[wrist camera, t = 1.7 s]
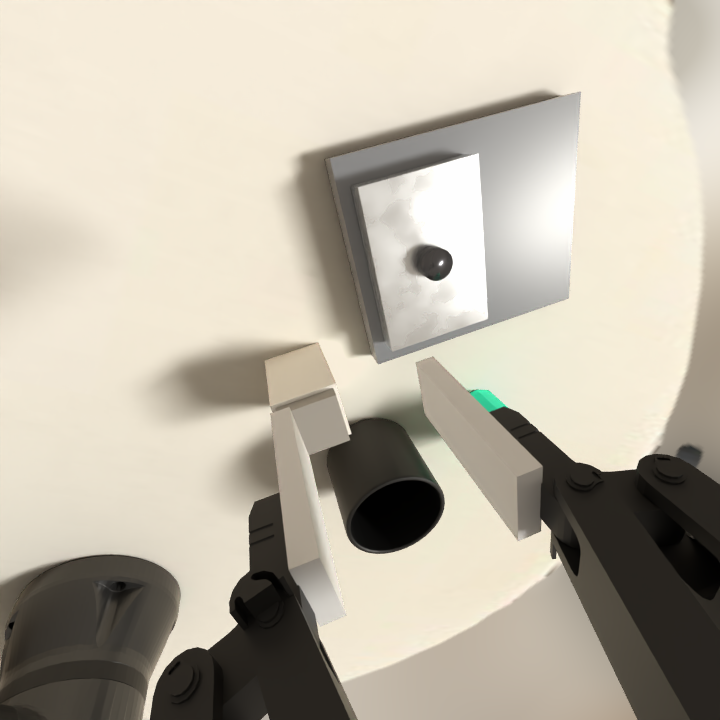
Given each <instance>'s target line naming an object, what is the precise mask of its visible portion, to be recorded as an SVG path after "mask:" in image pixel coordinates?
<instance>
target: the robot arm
mask: <svg viewBox="0 0 720 720" xmlns="http://www.w3.org/2000/svg"><path fill="white" fill-rule="evenodd" d="M416 367H417V372H418V378H419V384H420V389H421V395H422V401H423V407H424V412H425V415H426V417H427V418H428V419H429V421H430V422H431V423H432V425H433V426H434V427H435V429H436V430H437V432H438V433H439V434H440V436H441V437H442V438H443V440H444V441H445V442H446V444H447V445H448V446H449V448H450V449H451V451H452V452H453V453H454V455H455V456H456V457H457V459H458V460H459V461H460V463H461V464H462V466H463V467H464V468H465V470H466V471H467V472H468V474H469V475H470V476H471V478H472V479H473V480H474V482H475V483H476V485H477V486H478V487H479V489H480V490H481V491H482V493H483V494H484V495H485V497H486V498H487V499H488V501H489V502H490V504H491V505H492V506H493V508H494V509H495V510H496V512H497V513H498V514H499V516H500V517H501V519H502V520H503V521H504V523H505V524H506V525H507V527H508V528H509V529H510V531H511V532H512V533H513V535H514V536H515V538H516V539H517V540H518V541H520V540H522V539H524V538H527V537H529V536H531V535H533V534H536V533H538V532H540V531H541V519H542V520H543V521H544V522H545V524H546V525H547V526H548V527H549V528H550V530H551V545H550V553H551V557H552V559H556V551H557V553H558V555H559V557H560V559H561V561H562V563H563V565H564V567H565V570H566V572H567V574H568V576H569V578H570V580H571V582H572V584H573V586H574V588H575V590H576V592H577V594H578V596H579V599H580V600H581V603H582V605H583V607H584V609H585V611H586V613H587V615H588V617H589V619H590V622H591V624H592V626H593V628H594V630H595V632H596V634H597V636H598V638H599V640H600V642H601V644H602V646H603V648H604V651H605V653H606V655H607V657H608V659H609V661H610V663H611V665H612V667H613V669H614V671H615V674H616V676H617V678H618V680H619V682H620V684H621V686H622V688H623V690H624V692H625V694H626V696H627V699H628V701H629V703H630V705H631V707H632V709H633V711H634V713H635V715H636V717H637V719H638V720H720V484H718V483H716V482H715V481H714V480H712V479H711V478H709V477H708V476H707V475H705V474H704V473H702V472H701V471H699V470H698V469H697V468H695V467H694V466H692V465H691V464H689V463H687V462H685V461H683V460H682V459H680V458H676V457H673V456H670V455H662V454H653V455H648V456H645V457H643V458H642V459H640V460H639V463H638V466H637V469H636V470H625V471H614V472H601V471H600V470H599V469H597V468H595V467H593V466H591V465H587V464H583V463H576V462H574V461H573V460H571V459H570V458H569V457H568V456H567V455H566V454H565V453H564V452H563V451H561V450H560V449H559V448H558V447H557V446H556V445H555V444H554V443H552V442H551V441H550V440H549V439H548V438H547V437H546V436H545V435H543V434H542V433H541V432H539V431H538V429H537V428H536V427H535V426H533V425H532V424H530V422H529V421H528V420H527V419H526V418H524V417H523V416H522V415H521V414H520V413H519V412H516V411H514V410H512V409H509V408H507V407H505V406H504V407H501V408H499V409H496V410H493V411H491V412H488V411H487V410H486V409H485V408H484V407H483V406H482V405H481V404H480V403H479V402H478V401H477V400H476V399H475V398H474V397H473V396H472V395H471V394H470V393H469V392H468V391H467V390H466V389H465V388H464V387H463V386H462V385H461V384H460V383H459V382H458V381H457V380H456V379H455V378H454V377H453V376H452V375H451V374H450V373H449V372H448V371H447V370H446V369H445V368H444V367H443V366H442V365H441V364H440V363H439V362H438V361H437V360H436V359H435V358H434V357H430V358H427V359H424V360H421V361H419V362H416ZM270 415H271V424H272V432H273V441H274V449H275V458H276V467H277V475H278V484H279V493H277V494H274V495H272V496H269V497H266V498H264V499H261V500H258V501H256V502H254V505H253V508H252V510H251V513H250V515H249V533H250V535H249V545H250V547H249V555H250V571H249V572H248V573H247V574H246V575H245V576H243V577H242V578H241V579H240V580H239V582H238V583H237V585H236V586H235V588H234V589H233V592H232V595H231V598H230V601H229V606H230V614H231V615H232V616H233V618H234V619H235V620H236V622H237V623H238V624H237V626H236V627H235V628H234V629H233V630H232V631H231V632H230V633H229V634H227V635H226V636H225V637H224V638H222V639H221V640H220V641H219V642H217V643H216V644H215V645H214V646H212V647H211V648H210V649H209V650H205V649H202V648H198V647H197V648H192V649H188V650H186V651H184V652H183V653H181V654H180V655H178V656H177V657H175V658H174V659H173V661H172V662H171V663H170V664H169V665H168V666H167V667H166V668H165V670H164V672H163V673H162V675H161V677H160V679H159V680H158V682H157V685H156V689H155V692H154V696H153V701H152V708H151V715H150V720H261V719H262V718H263V717H264V716H265V715H266V714H267V713H268V715H269V719H270V720H358V719H357V717H356V715H355V713H354V711H353V709H352V707H351V704H350V702H349V700H348V698H347V695H346V693H345V691H344V689H343V687H342V685H341V683H340V680H339V678H338V676H337V674H336V672H335V670H334V667H333V665H332V663H331V661H330V659H329V657H328V654H327V652H326V650H325V648H324V646H323V644H322V642H321V640H320V639H319V635H318V629H317V623H316V620H317V622H318V624H319V626H323V625H325V624H327V623H330V622H332V621H334V620H337V619H339V618H341V617H344V616H346V611H345V607H344V603H343V598H342V594H341V590H340V585H339V581H338V577H337V573H336V568H335V564H334V560H333V556H332V551H331V547H330V543H329V538H328V534H327V530H326V526H325V521H324V517H323V513H322V508H321V504H320V500H319V496H318V491H317V487H316V483H315V479H314V474H313V470H312V466H311V461H310V457H309V455H308V452H307V450H306V447H305V445H304V442H303V440H302V437H301V435H300V432H299V430H298V427H297V425H296V422H295V420H294V417H293V415H292V412H291V410H290V407H287V408H284V409H282V410H279V411H276V412H273V413H270ZM180 596H181V593H180V588H179V585H178V583H177V581H176V579H175V578H174V577H173V576H172V575H171V574H170V573H169V572H168V571H166V570H165V569H164V568H162V567H160V566H158V565H156V564H154V563H151V562H149V561H145V560H142V559H138V558H132V557H125V556H98V557H90V558H84V559H79V560H75V561H71V562H68V563H65V564H62V565H59V566H57V567H54V568H52V569H50V570H48V571H46V572H45V573H43V574H41V575H40V576H38V577H37V578H35V579H34V580H33V581H32V582H31V583H29V584H28V585H27V586H26V588H25V589H24V590H23V591H22V593H21V595H20V596H19V598H18V600H17V602H16V604H15V606H14V608H13V610H12V612H11V614H10V616H9V619H8V621H7V625H6V630H5V645H4V649H3V655H2V661H1V668H0V720H142V717H143V711H144V705H145V700H146V694H147V689H148V684H149V680H150V677H151V675H152V673H153V671H154V669H155V666H156V664H157V662H158V660H159V658H160V656H161V653H162V651H163V649H164V647H165V644H166V642H167V640H168V637H169V635H170V633H171V632H172V630H173V628H174V626H175V624H176V621H177V617H178V611H179V604H180Z"/></svg>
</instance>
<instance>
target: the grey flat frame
mask: <svg viewBox="0 0 720 720" xmlns="http://www.w3.org/2000/svg"><path fill="white" fill-rule="evenodd" d="M580 97H581V92H577V93H572V94H567V95H563V96H559V97H555V98H551V99H547V100H544V101H540V102H536V103H533V104H529V105H525V106H521V107H518V108H514V109H510V110H506V111H503V112H499V113H495V114H491V115H488V116H484V117H480V118H476V119H473V120H469V121H465V122H461V123H458V124H454V125H450V126H446V127H443V128H439V129H435V130H432V131H428V132H424V133H420V134H417V135H413V136H409V137H405V138H402V139H398V140H394V141H390V142H387V143H383V144H379V145H375V146H372V147H368V148H364V149H360V150H357V151H353V152H349V153H345V154H342V155H338V156H334V157H331V158H327V159H325V163H326V167H327V171H328V176H329V180H330V184H331V188H332V192H333V196H334V200H335V205H336V209H337V213H338V217H339V221H340V225H341V229H342V234H343V238H344V242H345V246H346V250H347V254H348V258H349V263H350V267H351V271H352V275H353V279H354V283H355V287H356V292H357V296H358V300H359V304H360V308H361V312H362V316H363V321H364V325H365V329H366V333H367V337H368V341H369V345H370V350H371V354H372V356H373V357H374V359H375V360H376V362H377V363H378V364H381V363H383V362H386V361H389V360H392V359H395V358H398V357H401V356H404V355H407V354H409V353H412V352H415V351H418V350H421V349H424V348H427V347H430V346H432V345H435V344H438V343H441V342H444V341H447V340H450V339H453V338H456V337H458V336H461V335H464V334H467V333H470V332H473V331H476V330H479V329H482V328H484V327H487V326H490V325H493V324H496V323H499V322H502V321H505V320H508V319H510V318H513V317H516V316H519V315H522V314H525V313H528V312H531V311H534V310H536V309H539V308H542V307H545V306H548V305H551V304H554V303H557V302H559V301H562V300H565V299H568V298H569V285H570V268H571V251H572V234H573V217H574V200H575V182H576V165H577V148H578V131H579V114H580ZM463 154H478V155H479V173H480V190H481V207H482V224H483V242H484V259H485V276H486V293H487V310H488V319H486V320H483V321H480V322H477V323H475V324H472V325H469V326H466V327H463V328H460V329H457V330H454V331H451V332H448V333H445V334H443V335H440V336H437V337H434V338H431V339H428V340H425V341H422V342H419V343H416V344H413V345H411V346H408V347H405V348H402V349H399V350H396V351H393V352H392V351H391V350H390V348H389V347H388V346H387V345H386V343H385V342H384V337H383V333H382V328H381V323H380V319H379V314H378V310H377V305H376V300H375V296H374V291H373V287H372V282H371V277H370V273H369V268H368V264H367V259H366V254H365V250H364V245H363V240H362V236H361V231H360V227H359V222H358V217H357V213H356V208H355V204H354V199H353V194H352V190H351V186H352V185H356V184H359V183H363V182H367V181H370V180H374V179H377V178H381V177H384V176H388V175H392V174H395V173H399V172H402V171H406V170H409V169H413V168H417V167H420V166H424V165H427V164H431V163H435V162H438V161H442V160H445V159H449V158H452V157H456V156H460V155H463Z"/></svg>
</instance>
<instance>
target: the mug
mask: <svg viewBox="0 0 720 720" xmlns="http://www.w3.org/2000/svg"><path fill="white" fill-rule="evenodd" d="M350 430H351V433H352V434H350V435H349V438H350V440H349V441H347V442H344V443H341V444H339V445H336V446H333V447H330V450H329V453H328V457H327V467H328V470H329V474H330V477H331V481H332V484H333V488H334V491H335V495H336V498H337V502H338V505H339V509H340V512H341V516H342V519H343V523H344V526H345V530H346V533H347V536H348V538H349V540H350V542H351V543H352V544H353V545H354V546H355V547H357V548H358V549H360V550H362V551H365V552H368V553H375V554H384V553H391V552H395V551H399V550H402V549H404V548H407V547H409V546H411V545H413V544H415V543H416V542H418V541H419V540H421V539H422V538H424V537H425V536H426V535H427V534H428V533H429V532H430V531H431V530H432V529H433V528H434V527H435V526H436V524H437V523H438V521H439V520H440V518H441V516H442V513H443V510H444V504H445V501H444V495H443V491H442V490H441V488H440V486H439V485H438V483H437V481H436V480H435V478H434V476H433V475H432V473H431V472H430V470H429V468H428V467H427V465H426V464H425V462H424V460H423V459H422V457H421V455H420V454H419V452H418V451H417V449H416V447H415V446H414V444H413V442H412V441H411V439H410V438H409V436H408V434H407V433H406V431H405V430H404V429H403V428H402V427H401V426H400V425H398V424H397V423H395V422H392V421H390V420H386V419H380V418H376V419H367V420H363V421H360V422H357V423H355V424H353V425H351V426H350Z"/></svg>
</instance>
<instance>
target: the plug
mask: <svg viewBox="0 0 720 720" xmlns="http://www.w3.org/2000/svg"><path fill="white" fill-rule="evenodd" d="M265 368H266V377H267V385H268V393H269V402H270V407H271V410H272V412H276V411H279V410H282V409H284V408H287V407H290V410H291V412H292V415H293V417H294V420H295V422H296V425H297V427H298V430H299V432H300V435H301V437H302V440H303V442H304V445H305V447H306V450H307V452H308V455H311V454H314V453H317V452H320V451H322V450H325V449H328V448H330V447H333V446H336V445H339V444H341V443H344V442H347V441H349V440H350V438H349V435H350V434H352V433H351V430H350V427H349V424H348V421H347V417H346V414H345V411H344V408H343V404H342V401H341V398H340V395H339V392H338V388H337V385H336V382H335V380H334V378H333V375H332V373H331V371H330V368H329V366H328V364H327V361H326V359H325V357H324V355H323V352H322V350H321V348H320V345H319V343H315V344H312V345H309V346H306V347H303V348H300V349H297V350H294V351H291V352H288V353H285V354H282V355H279V356H276V357H273V358H270V359H267V360H265Z"/></svg>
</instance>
